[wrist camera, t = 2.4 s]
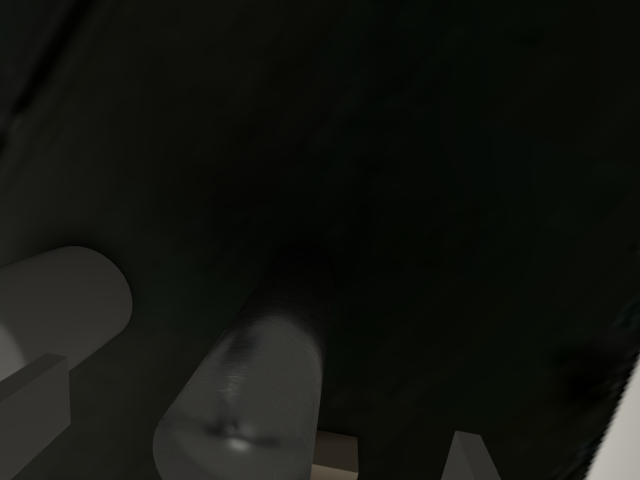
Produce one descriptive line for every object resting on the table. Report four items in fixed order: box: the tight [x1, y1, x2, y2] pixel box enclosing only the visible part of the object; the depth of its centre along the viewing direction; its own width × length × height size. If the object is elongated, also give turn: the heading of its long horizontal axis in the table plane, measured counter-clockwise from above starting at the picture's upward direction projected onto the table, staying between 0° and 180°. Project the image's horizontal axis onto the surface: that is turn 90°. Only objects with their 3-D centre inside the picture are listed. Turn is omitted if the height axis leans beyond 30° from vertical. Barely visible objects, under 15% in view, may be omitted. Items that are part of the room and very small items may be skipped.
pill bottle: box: [0, 246, 133, 381], centre depth 19 cm, size 8×8×11 cm
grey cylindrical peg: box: [153, 249, 334, 480], centre depth 16 cm, size 5×5×14 cm
